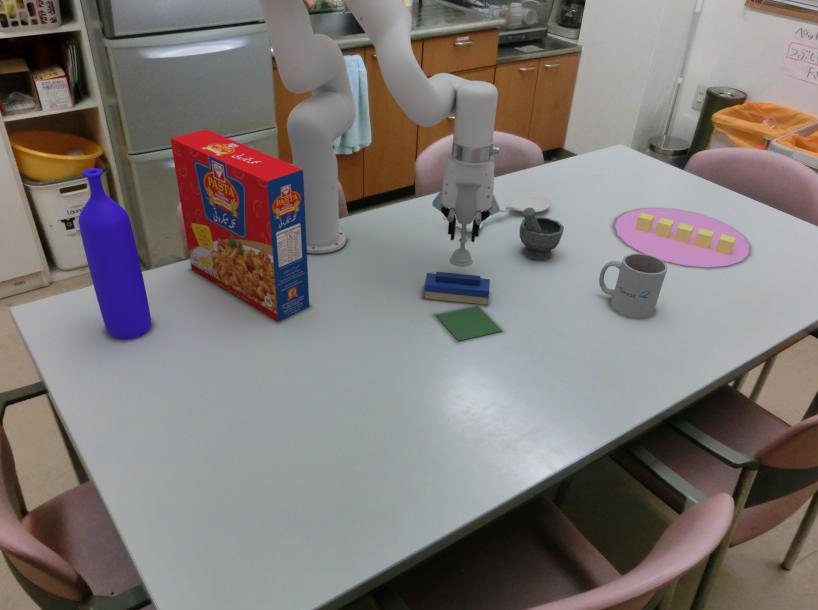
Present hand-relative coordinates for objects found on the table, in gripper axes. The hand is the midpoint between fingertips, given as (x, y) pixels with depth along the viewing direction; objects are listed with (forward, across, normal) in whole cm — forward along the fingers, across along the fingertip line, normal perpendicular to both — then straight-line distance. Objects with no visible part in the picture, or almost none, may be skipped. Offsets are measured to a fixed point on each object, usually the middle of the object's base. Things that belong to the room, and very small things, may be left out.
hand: (462, 237), depth 143 cm
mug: (+10, -35, +4) cm, 36 cm away
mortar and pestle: (+9, -17, -14) cm, 24 cm away
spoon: (+9, -9, -31) cm, 34 cm away
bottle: (+9, +60, +32) cm, 68 cm away
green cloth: (+9, -3, +18) cm, 21 cm away
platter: (+10, -53, -31) cm, 62 cm away
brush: (+9, 0, +8) cm, 13 cm away
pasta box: (+9, +42, +13) cm, 46 cm away
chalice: (+6, 0, 0) cm, 6 cm away
